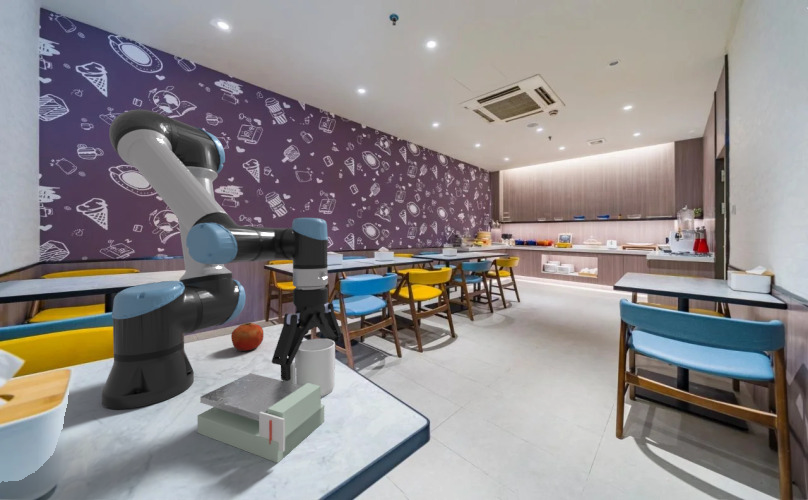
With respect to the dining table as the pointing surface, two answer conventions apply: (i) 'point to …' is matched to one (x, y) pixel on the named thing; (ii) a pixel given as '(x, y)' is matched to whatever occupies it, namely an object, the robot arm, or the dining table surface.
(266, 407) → the speckled metal plate
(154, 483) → the dining table surface
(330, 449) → the dining table surface
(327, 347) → the cup
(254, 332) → the tomato
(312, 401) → the scale base
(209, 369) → the dining table surface
